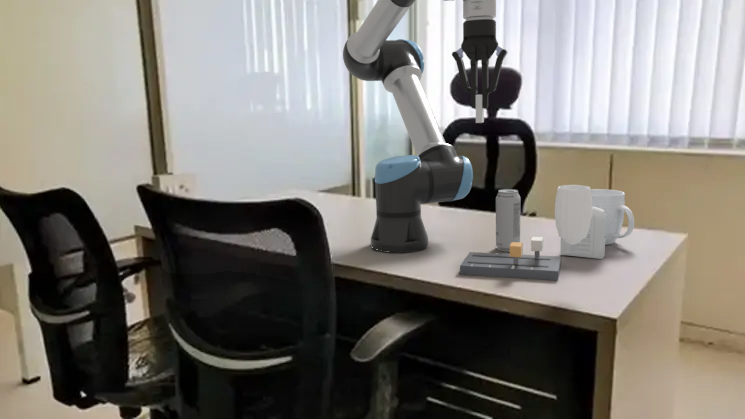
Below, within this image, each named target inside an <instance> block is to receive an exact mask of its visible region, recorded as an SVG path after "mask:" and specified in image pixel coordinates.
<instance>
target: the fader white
mask: <svg viewBox="0 0 745 419" xmlns="http://www.w3.org/2000/svg"><path fill="white" fill-rule="evenodd" d="M543 249H544V236H532V237H531V239H530V251H531V252H534V255H535V258H539V257H540V256H541V255H540V254H541V253H540V252H543Z"/></svg>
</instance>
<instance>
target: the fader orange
mask: <svg viewBox="0 0 745 419" xmlns="http://www.w3.org/2000/svg"><path fill="white" fill-rule="evenodd" d="M523 247H524V243H523V242H521V241H520V242H512V243H511V244H510V252H509V254H510V257H514V263H513V264H518V263H519V257H521V256H522V255H523V250H524V248H523Z"/></svg>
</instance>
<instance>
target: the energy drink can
mask: <svg viewBox="0 0 745 419" xmlns="http://www.w3.org/2000/svg"><path fill="white" fill-rule="evenodd" d="M512 242H521V196H520V194H519V190H518V189H511V188H507V189H506V188H505V189H499V190H498V192H497V194H496V197H495V246H496V247H497V250H498V251H501V252H507V253H508V252H509V253H510V244H511V243H512Z"/></svg>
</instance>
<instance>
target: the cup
mask: <svg viewBox="0 0 745 419" xmlns="http://www.w3.org/2000/svg"><path fill="white" fill-rule="evenodd" d="M554 203H555V204H554V220H555V227H556V230H557V234H558V237H560V239H561V238H563V239H564V241H565V242H566V243H569V244H571V245H574V244H577V243H580V242H581V240H582V239H584V238H586V236H587V234H588V231H589V228H590V224H591V218H592V197H591V187H590V186H588V185H582V184H565V185H564V184H562V185H559V186H558V187H557V190H556V195H555V200H554Z"/></svg>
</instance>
